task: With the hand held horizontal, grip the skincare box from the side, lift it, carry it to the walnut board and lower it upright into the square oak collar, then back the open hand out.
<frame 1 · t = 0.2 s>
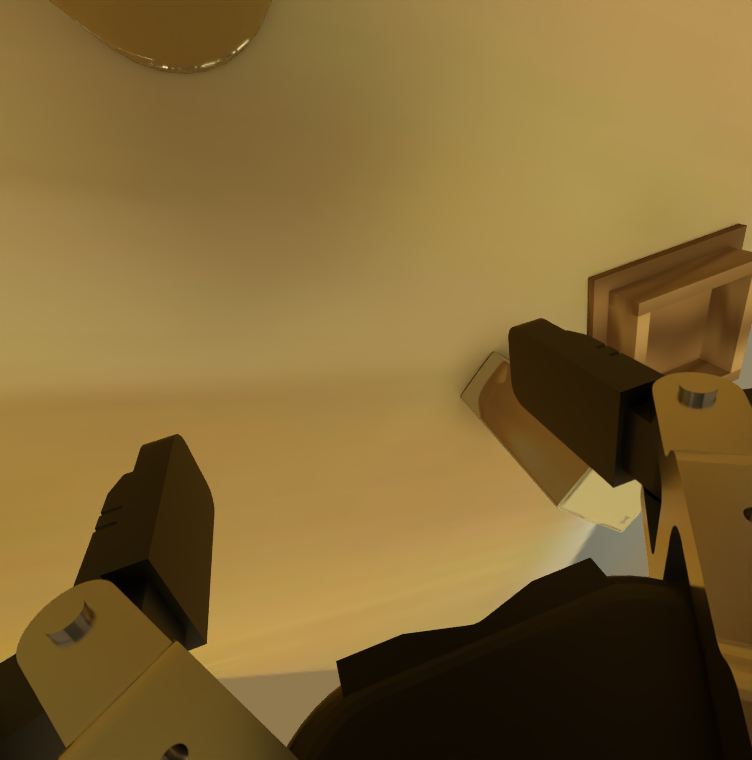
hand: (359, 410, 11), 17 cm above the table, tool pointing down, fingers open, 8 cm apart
holder: (656, 328, 37), on the table
skincare box: (500, 386, 35), on the table
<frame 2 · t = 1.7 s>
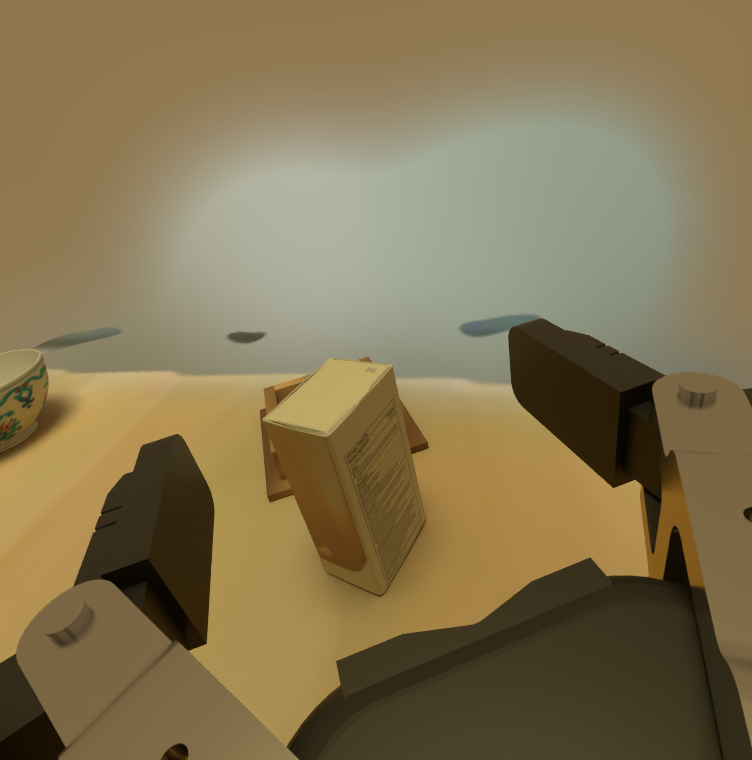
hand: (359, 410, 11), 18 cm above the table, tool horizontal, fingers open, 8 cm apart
holder: (335, 429, 41), on the table
chinaware: (7, 440, 53), on the table
skincare box: (377, 549, 29), on the table
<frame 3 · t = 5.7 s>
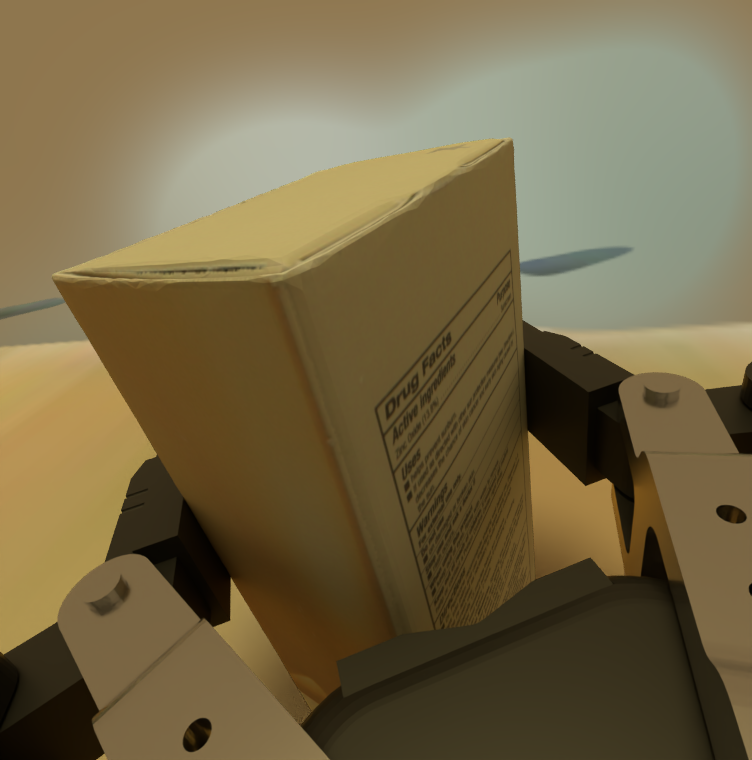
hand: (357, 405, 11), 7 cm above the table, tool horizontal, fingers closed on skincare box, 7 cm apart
skincare box: (432, 652, 13), on the table, touching gripper
when the fingers open (8 cm above the table, at t = 10.7 s): skincare box stays where it is, resting on holder.
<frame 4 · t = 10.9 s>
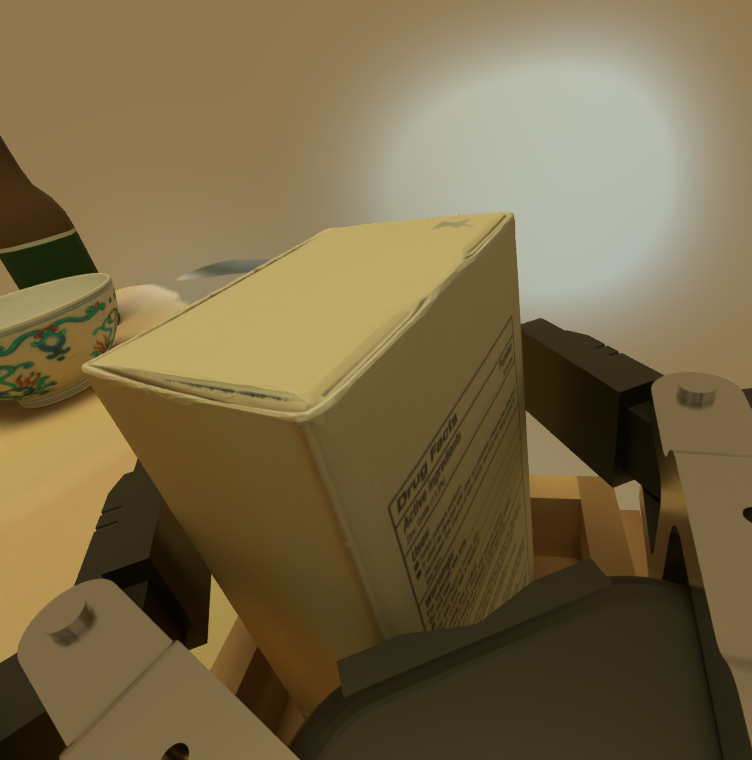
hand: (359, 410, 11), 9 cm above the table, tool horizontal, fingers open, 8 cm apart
holder: (440, 682, 14), on the table
chinaware: (64, 388, 40), on the table
beer bottle: (90, 332, 54), on the table
skincare box: (436, 683, 13), resting on holder
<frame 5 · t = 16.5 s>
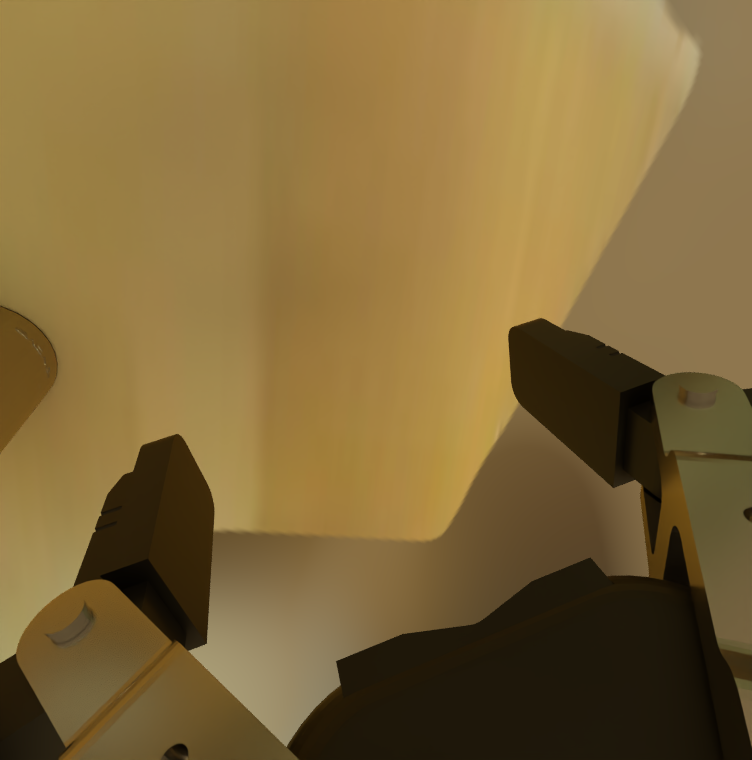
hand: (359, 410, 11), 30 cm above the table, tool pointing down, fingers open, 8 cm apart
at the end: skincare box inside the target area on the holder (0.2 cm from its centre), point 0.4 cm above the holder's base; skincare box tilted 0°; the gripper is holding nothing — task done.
